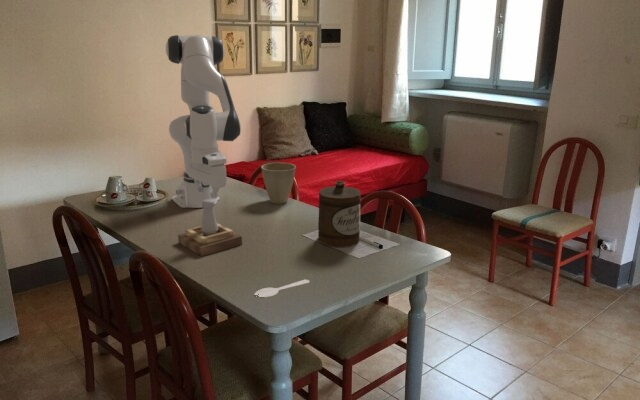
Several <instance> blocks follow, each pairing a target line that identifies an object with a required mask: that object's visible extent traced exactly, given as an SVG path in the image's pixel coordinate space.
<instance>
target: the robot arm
mask: <svg viewBox="0 0 640 400" xmlns="http://www.w3.org/2000/svg"><path fill="white" fill-rule="evenodd" d="M225 51H226V49H225V45H224V43H223V40H222V39H221V38H220V37H218V36H207V35H202V34H199V35H198V34H195V35H194V34H191V35H190V34H188V35H187V34H186V35H178V34H176V35H171V36H169V37H168V39H167V41H166V44H165V53H166V56H167V58H168V60H169V61H170V62H171V63H174V64H178V65H179V64H181V68H180V97H181V98H180V99H181V100H182V101H183V102H184V103H185V104H186V105H187V107H188V109H189V114H186V115H185V114H184V115H182V116H181V115H180V116H178V117H177V118H175V119H173V120H172V121H171V122H170V124H169V127H168V132H169V135H170V137H171V139H172V140H173V141H174V142H176V143H177V144H178V146H179V147H180V148H181V149H180V150H181V152H182V155H183V161H184V172H183V174H182V175H183V181H181V182H180V184H179V185H178V186H177V187H176V189H175V194H176V195H174V196H172V197H171V200H172V201H173V202H174V203H175V204H176V205H178V206H179V208H182V209H183V208H191V209H192V208H193V209H195V208H196V209H197V208H198V209H200V208H201V209H202V208H203V207H202V201H203V200H206V199H211V200H213V201H214V203H215V205H216V204H217V203H218V201H219V200H221V199H220V196H218V192H219V190H220V188H224V187H225V186H227V168H226V165H225V164H227V157H226V156H225V155H223V153H222V152H221V151H220V150H219V145H218V141H223V142H233V141H235V140H237V138H238V137H240V136H241V130H242V126H241V121H240V119H239V115H238V114H237V111H236V109H235V105H234V101H233V99H232V95H231V92H230V89H229V86H228V83H227V80H226V78H225V77H224V75H223V74H221V73H219V71H218V70H217V69H216V67H215V66H216V65H219V64H221V62H223V60H224V57H225V53H226V52H225ZM210 93H211V94H214V95H215V96H216V97H218V100H219V103H220V106H221V108H222V112H215V108H214V107H212V105H211V101H210Z"/></svg>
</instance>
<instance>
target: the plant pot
mask: <svg viewBox="0 0 640 400" xmlns="http://www.w3.org/2000/svg"><path fill="white" fill-rule="evenodd" d="M261 173H262V178H263V183H264V185H265V189H266V190H265V191H266V192H267V196H268V198H269V201H270V203H272V204H278V205H279V204H285V203H287V202H288V201H289V197H290V195H291V191H292V189H293V184H294V180H295V175H296V174H295V173H296V165H295V164H294V163H293V164H292V163H288V162H270V163H266V164H263V165H261Z"/></svg>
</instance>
